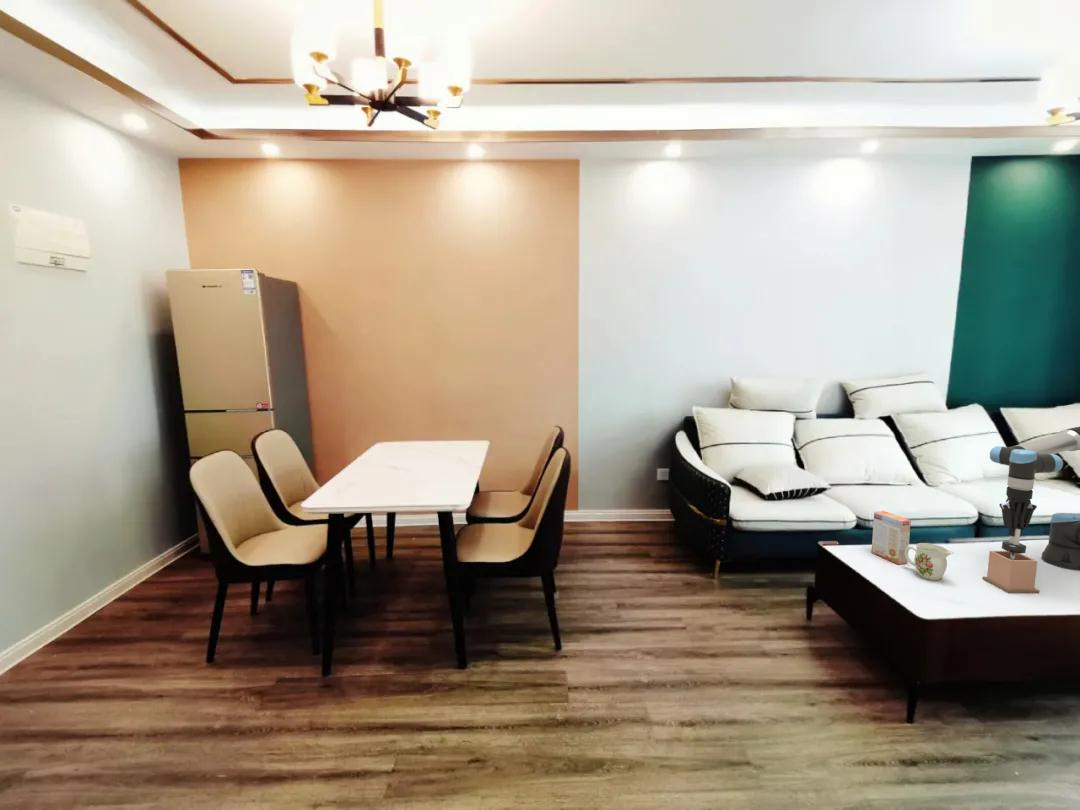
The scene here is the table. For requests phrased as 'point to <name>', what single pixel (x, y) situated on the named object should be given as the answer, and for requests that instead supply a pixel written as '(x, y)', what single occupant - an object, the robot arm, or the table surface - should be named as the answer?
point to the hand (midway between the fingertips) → (1013, 543)
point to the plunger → (1013, 548)
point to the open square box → (1012, 572)
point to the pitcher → (929, 560)
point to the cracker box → (890, 536)
